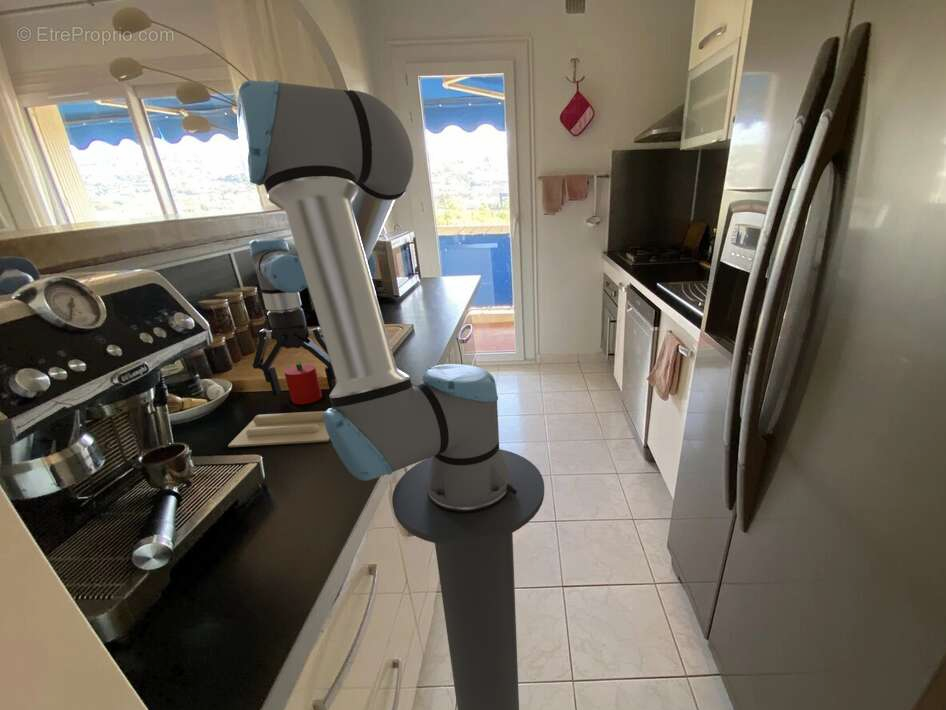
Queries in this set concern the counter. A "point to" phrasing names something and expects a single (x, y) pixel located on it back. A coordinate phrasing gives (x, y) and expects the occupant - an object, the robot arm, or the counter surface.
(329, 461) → the counter surface
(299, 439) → the cream ridged board
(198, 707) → the counter surface
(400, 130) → the robot arm
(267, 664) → the counter surface
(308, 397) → the pepper
